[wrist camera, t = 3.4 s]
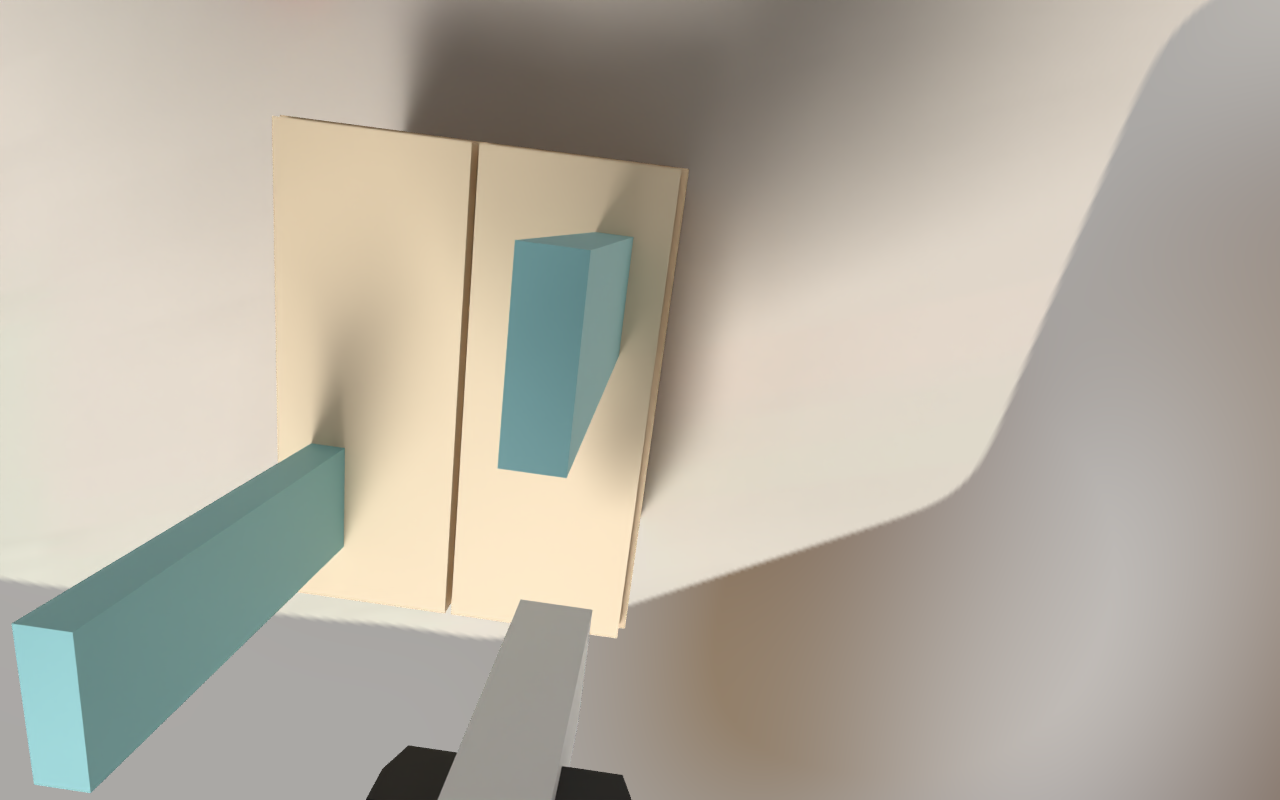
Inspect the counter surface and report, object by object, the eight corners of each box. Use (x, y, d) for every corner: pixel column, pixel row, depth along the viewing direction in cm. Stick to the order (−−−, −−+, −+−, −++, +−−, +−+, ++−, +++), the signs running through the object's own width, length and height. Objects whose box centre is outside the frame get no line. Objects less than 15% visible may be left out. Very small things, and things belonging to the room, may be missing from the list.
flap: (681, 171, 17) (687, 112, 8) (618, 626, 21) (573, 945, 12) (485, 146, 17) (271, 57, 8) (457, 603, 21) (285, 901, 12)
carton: (389, 488, 29) (286, 584, 21) (400, 148, 25) (279, 115, 18) (637, 523, 29) (624, 632, 21) (684, 185, 25) (689, 168, 17)
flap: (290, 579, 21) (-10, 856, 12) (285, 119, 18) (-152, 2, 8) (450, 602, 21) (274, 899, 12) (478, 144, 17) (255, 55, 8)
